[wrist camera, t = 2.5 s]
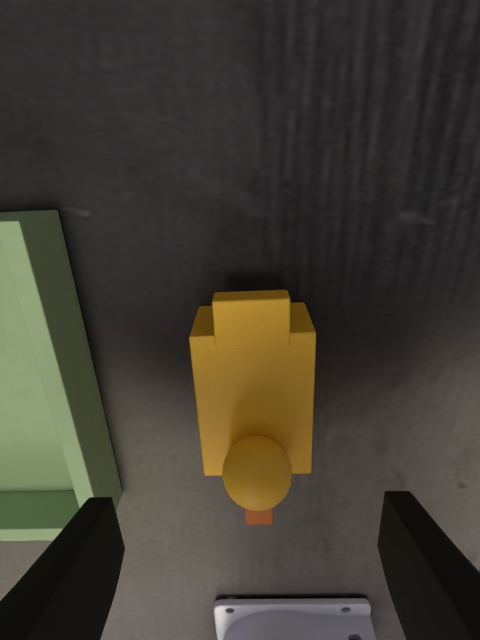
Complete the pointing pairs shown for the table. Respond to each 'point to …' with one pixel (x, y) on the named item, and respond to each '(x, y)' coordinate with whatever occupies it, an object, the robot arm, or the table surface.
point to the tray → (46, 387)
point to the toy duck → (254, 395)
